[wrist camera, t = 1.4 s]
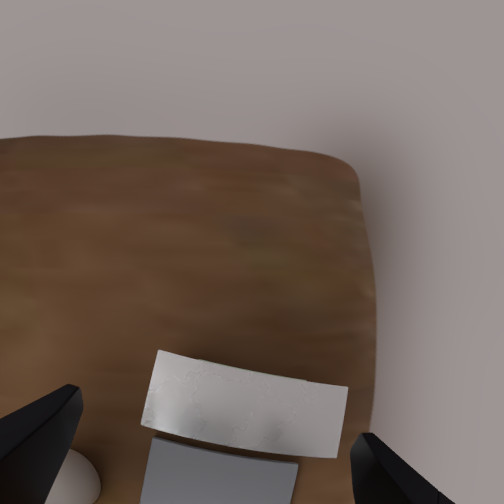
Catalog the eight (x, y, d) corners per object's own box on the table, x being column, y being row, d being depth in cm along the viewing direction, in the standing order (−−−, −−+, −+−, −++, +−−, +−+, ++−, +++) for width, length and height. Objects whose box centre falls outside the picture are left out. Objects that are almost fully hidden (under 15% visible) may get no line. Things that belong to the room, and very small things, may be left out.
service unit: (298, 446, 20) (335, 461, 14) (158, 419, 19) (139, 428, 13) (308, 389, 22) (348, 383, 16) (172, 361, 21) (159, 345, 15)
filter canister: (115, 490, 16) (36, 561, 5) (71, 517, 14) (-18, 580, 3) (70, 435, 18) (-43, 451, 6) (29, 464, 16) (-84, 486, 4)
